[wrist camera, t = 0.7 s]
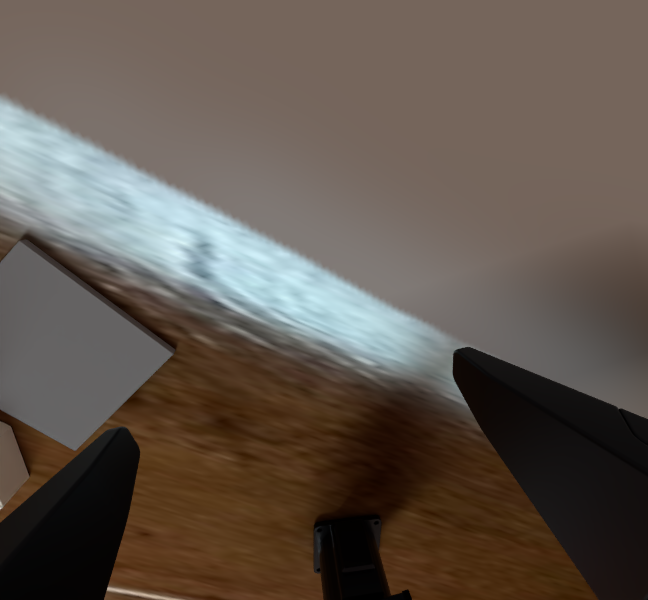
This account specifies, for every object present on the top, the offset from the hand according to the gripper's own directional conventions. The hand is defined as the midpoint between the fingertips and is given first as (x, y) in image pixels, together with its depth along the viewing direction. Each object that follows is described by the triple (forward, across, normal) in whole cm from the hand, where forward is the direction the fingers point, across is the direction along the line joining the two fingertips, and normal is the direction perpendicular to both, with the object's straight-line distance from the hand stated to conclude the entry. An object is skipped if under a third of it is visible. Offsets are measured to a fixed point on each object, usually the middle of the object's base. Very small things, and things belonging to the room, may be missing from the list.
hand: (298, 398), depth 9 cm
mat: (+14, +17, +4) cm, 22 cm away
